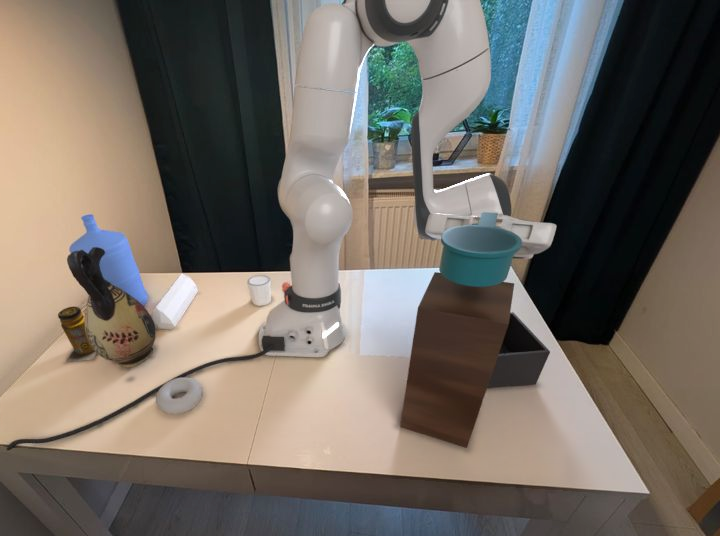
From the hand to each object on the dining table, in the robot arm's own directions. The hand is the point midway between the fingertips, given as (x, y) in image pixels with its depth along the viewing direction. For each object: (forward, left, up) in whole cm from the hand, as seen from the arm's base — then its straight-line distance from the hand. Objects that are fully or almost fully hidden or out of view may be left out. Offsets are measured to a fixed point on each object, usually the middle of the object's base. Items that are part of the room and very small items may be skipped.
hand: (487, 222), depth 60 cm
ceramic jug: (-75, +17, -34) cm, 84 cm away
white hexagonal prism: (-68, +39, -34) cm, 85 cm away
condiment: (-89, +22, -34) cm, 98 cm away
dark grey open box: (+9, +3, -34) cm, 36 cm away
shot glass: (-42, +40, -34) cm, 67 cm away
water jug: (-86, +45, -34) cm, 103 cm away
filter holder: (-3, -6, -3) cm, 7 cm away
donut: (-59, 0, -34) cm, 68 cm away
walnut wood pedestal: (-6, -10, -34) cm, 36 cm away
